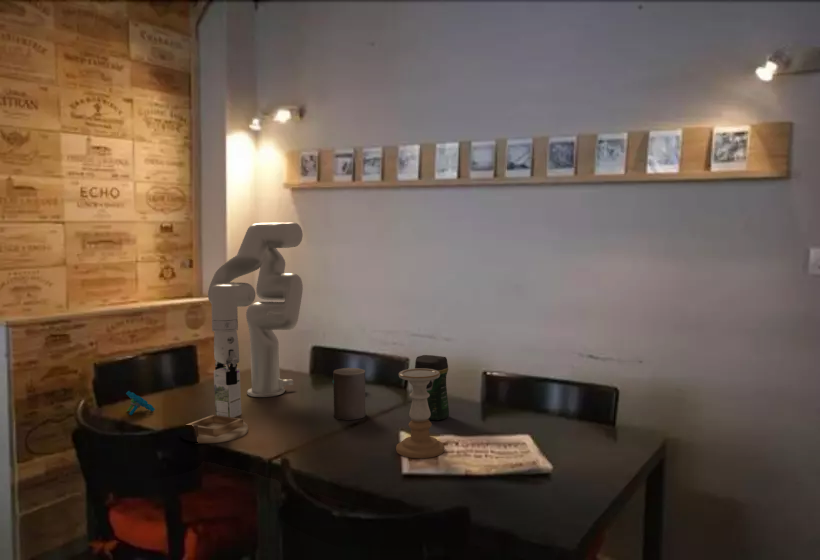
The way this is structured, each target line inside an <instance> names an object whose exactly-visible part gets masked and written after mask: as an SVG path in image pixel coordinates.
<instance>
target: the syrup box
mask: <svg viewBox="0 0 820 560" xmlns="http://www.w3.org/2000/svg"><path fill="white" fill-rule="evenodd" d="M226 372H227V369H226V367H223V368H219V369H217V370H215V369H214V370H213V386H214V390H213V391H214V406H215V407H214V409H215V415H219V416H226V417H233V418H237V417H239V416H241V415H242V398H241V397H242V395H241V394H242V393H241V374H240V373H241V369H240V368H239V367H237V384H235V385H226Z"/></svg>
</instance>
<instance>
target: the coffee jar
mask: <svg viewBox="0 0 820 560" xmlns="http://www.w3.org/2000/svg"><path fill="white" fill-rule="evenodd" d="M416 368H425V369H433V370H437V371H439V372H440V376H439V378H437V379H434V380H430V382H429V384H428V385H427V387H426V390H427V392H428V393H429V394H430V396H429V397H428V398H427V401H428V406H429V409H430V412H431V416H430V417H429V419H428V420H429V421H439V420H445V419H447V418H448V417H449V415H450V408H449V407H450V406H449V401H448V400H449V398H448V389H447V374H448V371H449V364H448V359H447V357H446V356H439V355H432V354H431V355H430V354H423V355H419V356H417V357H416V358H415V362H414V369H416Z"/></svg>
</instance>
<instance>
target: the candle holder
mask: <svg viewBox="0 0 820 560" xmlns="http://www.w3.org/2000/svg"><path fill="white" fill-rule="evenodd" d="M439 376H440V372H439V371H437V370H433V369H425V368H416V369H415V368H408V369H403V370H400V371H399V372H398V377H399V379H402V380H404V381H408V382H409V384H410V385H411V386H412V391H411V392H410V394H409V398H411V405H410V408H409V412H408V415H409V418H410V419H411V420H410V422H408V427H409V428H410V430H411V432H410V436H408V437H406V438H404V439H403V440H401V441H400V442H398V443H397V444H396V447H395V449H396V453H397V454H398V455H400V456H403V457H405V458H410V459H429V458H435V457H437V456H440V455H442V454H443V453H444V452H445V443H443V442H442V441H440V440H439V439H437V438H436V437H434V436H430V428H431V427H432V425H433V423H432V422H431V420H428V419H429V417H430V416H431V412H430V409H429V406H428V401H427V398H428V397H429V396H430V394H429V393H428V392H427V390H426V387H427V385H428V384H429V382H430V380H434V379H437V378H439Z"/></svg>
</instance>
